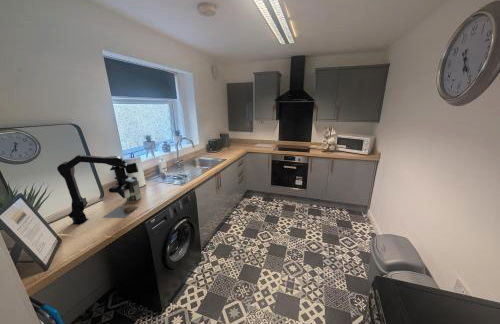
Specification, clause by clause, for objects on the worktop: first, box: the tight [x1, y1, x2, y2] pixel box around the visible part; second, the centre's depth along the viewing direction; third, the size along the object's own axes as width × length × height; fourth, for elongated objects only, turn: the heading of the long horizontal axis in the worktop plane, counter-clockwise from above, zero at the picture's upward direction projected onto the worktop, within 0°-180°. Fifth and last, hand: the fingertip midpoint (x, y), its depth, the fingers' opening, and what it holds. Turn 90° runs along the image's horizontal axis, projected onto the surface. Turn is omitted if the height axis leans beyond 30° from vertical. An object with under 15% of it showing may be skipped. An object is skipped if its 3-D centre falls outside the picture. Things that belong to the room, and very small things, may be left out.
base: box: [122, 203, 137, 212], centre depth 133 cm, size 7×7×2 cm
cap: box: [124, 189, 130, 199], centre depth 129 cm, size 4×4×6 cm
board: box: [102, 206, 139, 219], centre depth 131 cm, size 16×14×1 cm
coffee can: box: [123, 180, 142, 203], centre depth 147 cm, size 10×10×14 cm
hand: (126, 196), depth 130 cm, fingers closed on cap, 4 cm apart
